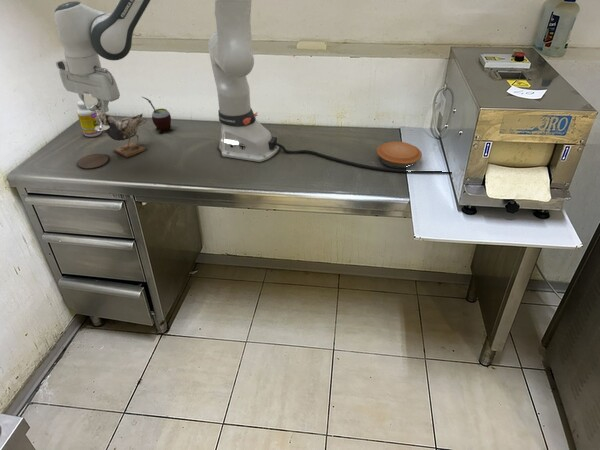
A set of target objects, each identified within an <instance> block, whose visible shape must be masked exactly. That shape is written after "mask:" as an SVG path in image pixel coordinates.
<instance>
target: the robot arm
mask: <svg viewBox="0 0 600 450" xmlns="http://www.w3.org/2000/svg"><path fill="white" fill-rule="evenodd" d="M150 2H151V0H118V2H117V4H116V5H115V7H114V8H113V10H112V12H106V11H101V10H98V9H95V8H92V7H90V6H88V5H86V4H84V3H83V2H82V1H77V0H76V1H75V0H74V1H68V2H65V3H61V4H60V5H58V6H57V7H56V8H55V9H54V12H53V19H54V24H55V28H56V32H57V36H58V38H59V42H60V43H61V44H62V48H63V55H64V58H62V59H59V60H56V61H55V66H56V68H57V69H58V70H59V77H60V79H61V83H62V86H63V87H64V89H65V90H66V91H67V92H71V93H74V94H78V97H79V98H80V101H81V100H82V101H83V102H84V93H87V94H91V96H92V97H94V98H98V99H100V102H102V106H100V109H101V111H102V112H105V113H108V112H110V109H109V103H111V102H114V101H117V100H119V99H120V97H121V94H120V90H119V87H118V85H117V82H116V79H115V77H114V75H113V74H112V73H111V72H110V71H109V70H108V68H105V67H102V64H101V60H100V57H101V58H103V59H104V60H108V61H119V60H120V61H121V60H123V59H125V57H127V56H128V55H129V54H130V51H131V49H132V43H133V35H134V31H135V29H136V27H137V25H138V23H139V21H140V19H141V18H142V16H143V14H144V13H145V11H146V9H147V7H148V6H149V4H150ZM251 13H252V0H214V18H215V23H216V24H215V25H216V31H215V32H213V33H212V34H211V35H210V36H209V38H208V41H207V48H208V53H209V58H210V64H211V70H212V74H213V78H214V83H215V87H216V93H217V101H218V112H217V113H218V121H219V123H220V137H219V144H218V149H219V150H220V152H221V156H222V157H223V158H230V159H236V160H244V161H249V162H250V161H251V162H257V163H261V162H264V161H267V160H269V159H271V158H272V157H274V156H275V155H276V154H277V153H278V152H279V150H280V149H281V150H282V151H283V152H284V153H286V154H290V155H291V154H311V155H316V156H318V157H320V158H321V157H322V158H325V159H328V160H332V161H335V162H339V163H342V164H346V165H351V166H355V167H359V168H364V169H370V170H376V171H382V172H383V171H384V172H392V173H393V172H394V173H406V174H407V173H408V171H406V170H407V169H405V168H404V169H397V168H392V167H382V166H376V165H375V166H374V165H369V164H364V163H360V162H359V163H358V162H354V161H349V160H346V159H342V158H338V157H335V156H331V155H327V154H324V153H321V152H317V151H315V150H309V149H301V150H288V149H286V148H285V146H284V145H283V144H281V143H279V142H278V137H277V136H273V135H272V133H271V132H270V130H268V129H267V128H266V127H265V126H264V125H262V124H261V123H260V122H259V121H258V119H256V117H257V116H258V112H255V113H254V110H253V109H252V107H251V106H252V105H251V92H250V85H249V82H248V78H247V76H248V75H249V74H251V72H252V70H253V69H254V65H255V57H254V54H253V40H252V39H253V38H252V26H251V25H252V23H251V15H252V14H251ZM84 106H85V107H86V105H85V102H84ZM86 108H87V107H86ZM411 172H412V173H411V174H449V173H448V172H442V171H411Z"/></svg>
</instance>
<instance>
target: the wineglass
mask: <svg viewBox="0 0 600 450" xmlns="http://www.w3.org/2000/svg"><path fill="white" fill-rule="evenodd" d="M84 102H85V105H86V107H87V108H88V109H89V110H90V111H94V112H97V116H98V118H99V121H100V125H99V126H97V127H95V130H97V131H102V132H104V130H107V129H109V127H110V126H109V125H103V124H102V122H101V119H100V113H99V111H101V109H100V106H102V102H100V99H98V98H94V97H92V96H91V94H87V93H84Z"/></svg>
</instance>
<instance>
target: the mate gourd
mask: <svg viewBox="0 0 600 450" xmlns="http://www.w3.org/2000/svg"><path fill="white" fill-rule="evenodd" d="M141 98H143V99H144V100H146V101H148V103H149V105H150V106H151V107H152V109H153V112H151V113H152V114H151V121H152V123H153V124H154V126H155V127H156V131H159V134H160V135H161V134H163V133H164V132H172V129H171V127H172V123H171V122H172V116H171V113H170V112H169V111H168V109H167V108H155V106H154V105H153V103H152V101H151V100H150V99H149V98H148V97H144V96H141Z"/></svg>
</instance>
